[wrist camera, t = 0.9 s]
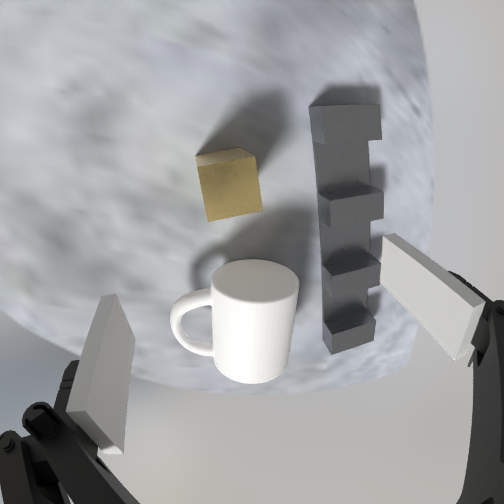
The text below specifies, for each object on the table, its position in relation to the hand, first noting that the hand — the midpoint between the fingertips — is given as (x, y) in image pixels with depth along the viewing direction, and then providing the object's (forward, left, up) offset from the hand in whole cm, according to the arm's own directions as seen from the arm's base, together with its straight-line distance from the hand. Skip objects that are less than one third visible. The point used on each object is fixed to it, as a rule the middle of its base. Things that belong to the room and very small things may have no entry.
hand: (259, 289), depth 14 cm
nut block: (-3, 0, -16) cm, 16 cm away
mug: (+11, -1, -16) cm, 20 cm away
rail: (+6, +12, -16) cm, 21 cm away
